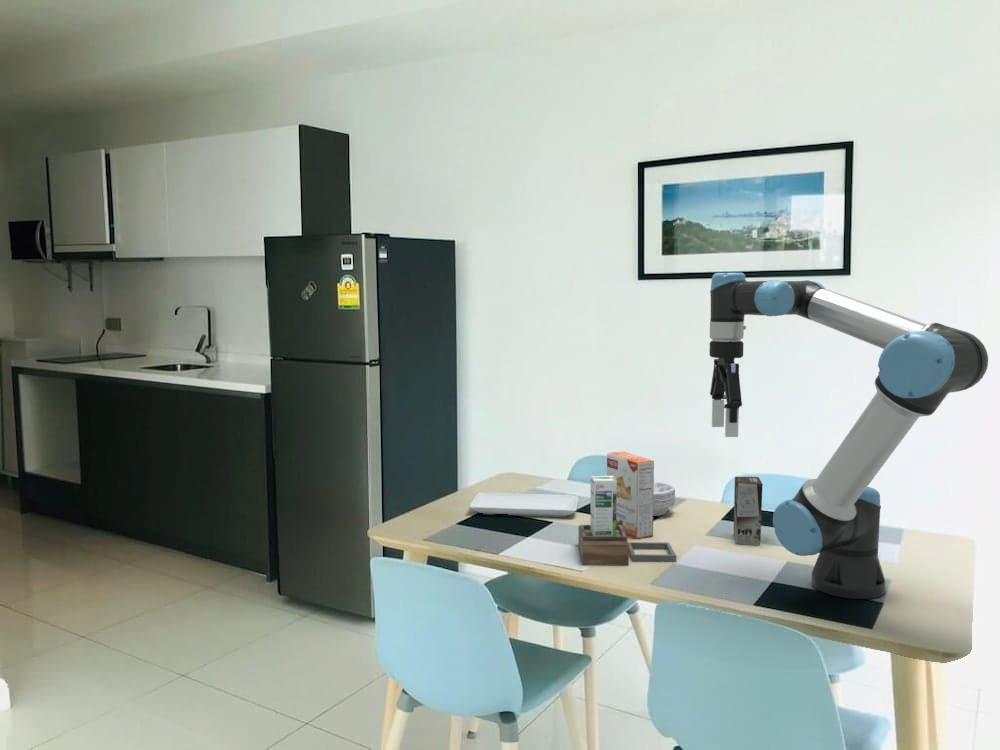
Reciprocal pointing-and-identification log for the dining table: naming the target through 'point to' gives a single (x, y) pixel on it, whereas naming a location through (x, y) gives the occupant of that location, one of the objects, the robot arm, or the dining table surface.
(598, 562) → the raised socket stand
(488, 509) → the tray
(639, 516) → the cracker box
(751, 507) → the coffee box
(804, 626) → the dining table surface
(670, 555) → the low socket
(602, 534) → the syrup box
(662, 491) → the paper bowls
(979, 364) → the robot arm
